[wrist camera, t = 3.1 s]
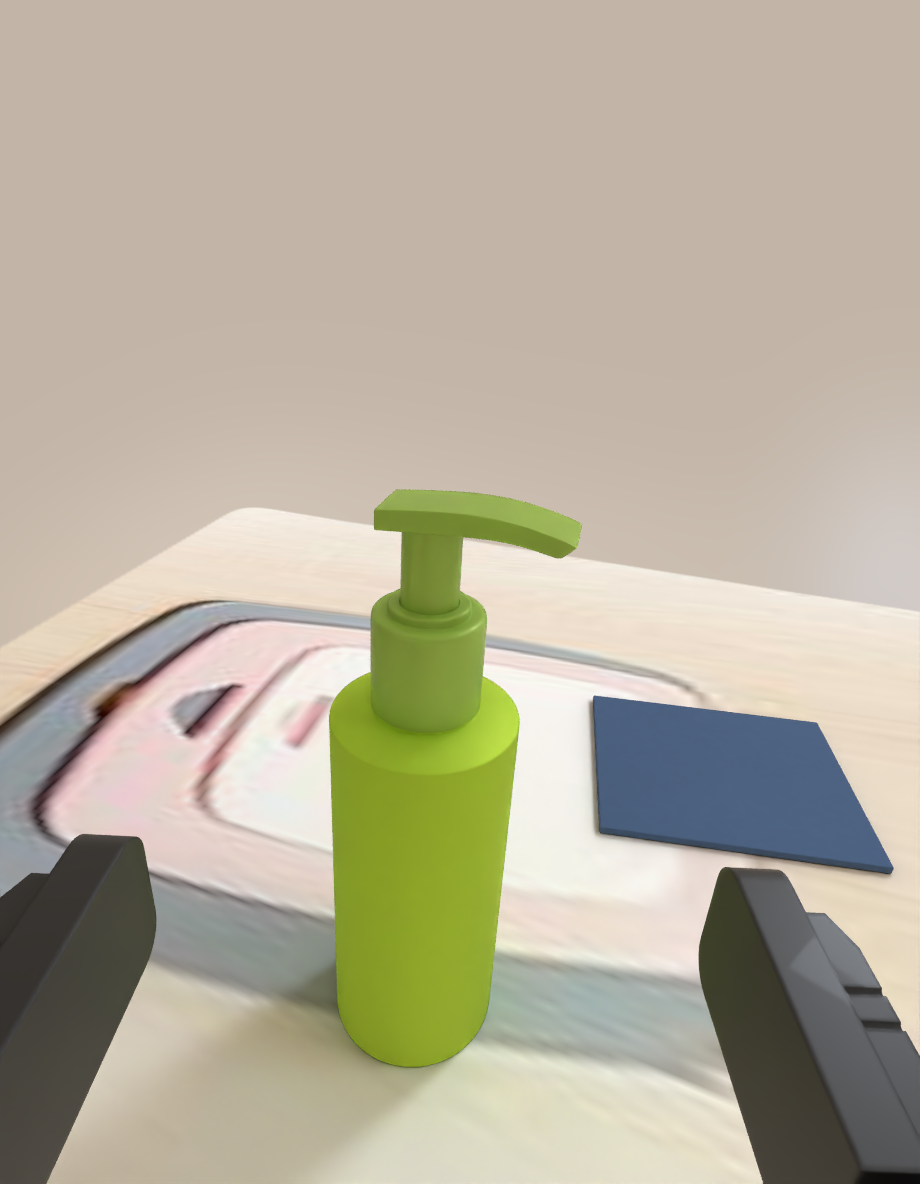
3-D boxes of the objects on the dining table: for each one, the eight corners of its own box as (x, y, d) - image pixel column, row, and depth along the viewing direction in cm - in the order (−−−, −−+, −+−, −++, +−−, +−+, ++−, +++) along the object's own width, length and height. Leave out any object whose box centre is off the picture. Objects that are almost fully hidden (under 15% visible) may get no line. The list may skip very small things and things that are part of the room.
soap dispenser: (501, 1095, 25) (572, 558, 16) (312, 1043, 26) (284, 519, 17) (525, 949, 30) (589, 485, 21) (367, 912, 31) (367, 459, 22)
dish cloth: (599, 832, 36) (600, 826, 36) (592, 700, 47) (593, 695, 47) (891, 874, 35) (894, 868, 34) (815, 727, 45) (817, 722, 45)
